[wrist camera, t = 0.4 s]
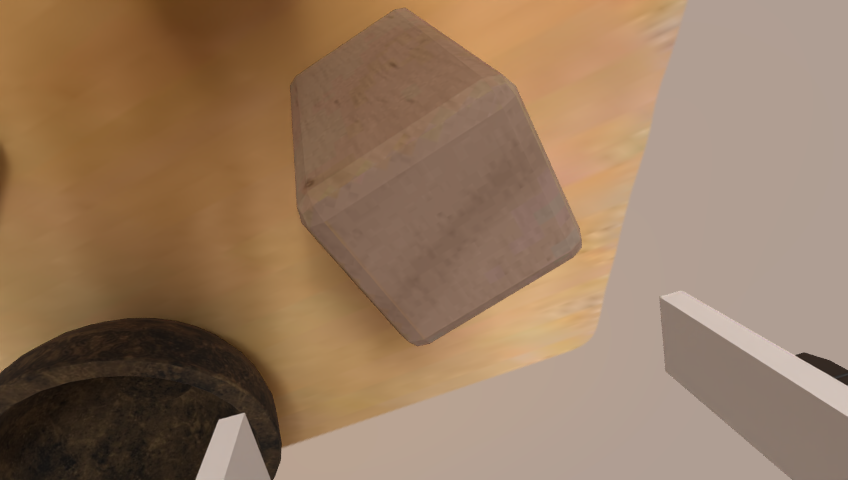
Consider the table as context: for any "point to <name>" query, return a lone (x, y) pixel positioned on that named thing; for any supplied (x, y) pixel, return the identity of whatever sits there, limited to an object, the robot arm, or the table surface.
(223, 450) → the robot arm
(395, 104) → the wooden block
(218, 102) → the table surface
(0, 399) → the bowl
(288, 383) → the table surface
